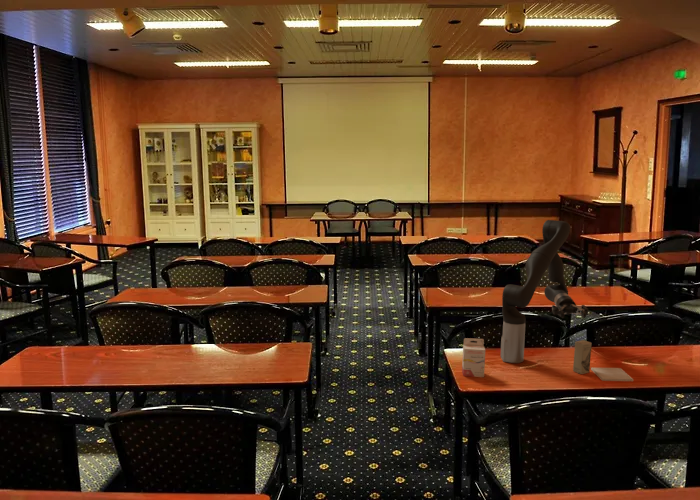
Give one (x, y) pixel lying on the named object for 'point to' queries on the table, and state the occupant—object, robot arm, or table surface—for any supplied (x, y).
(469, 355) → the ink cartridge box
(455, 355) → the table surface
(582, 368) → the box
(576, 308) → the robot arm
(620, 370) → the board
